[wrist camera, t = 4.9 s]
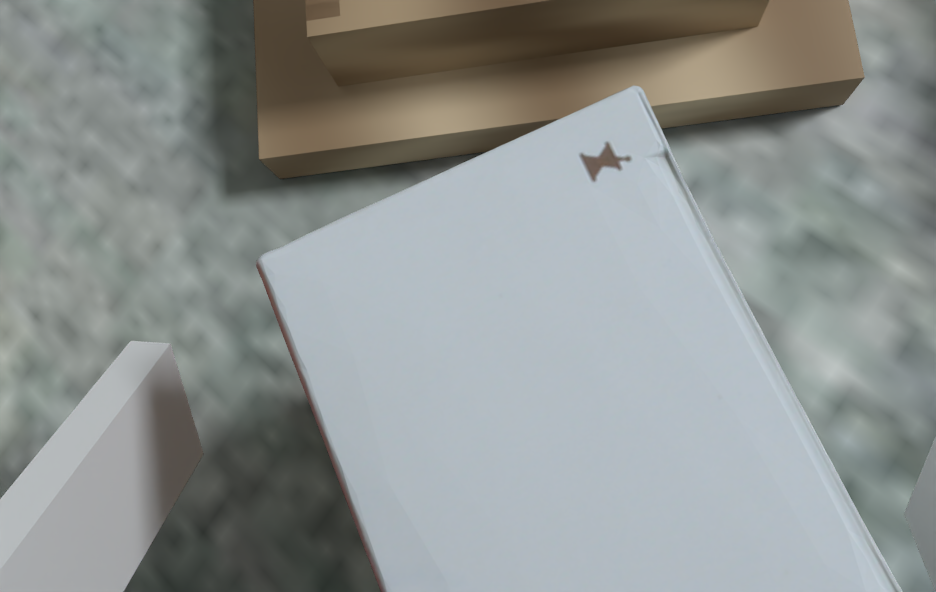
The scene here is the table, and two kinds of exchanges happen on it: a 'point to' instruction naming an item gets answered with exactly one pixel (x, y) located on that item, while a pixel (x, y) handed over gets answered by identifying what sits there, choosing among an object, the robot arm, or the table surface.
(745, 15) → the tan wooden flat tray
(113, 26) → the table surface
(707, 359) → the small box
